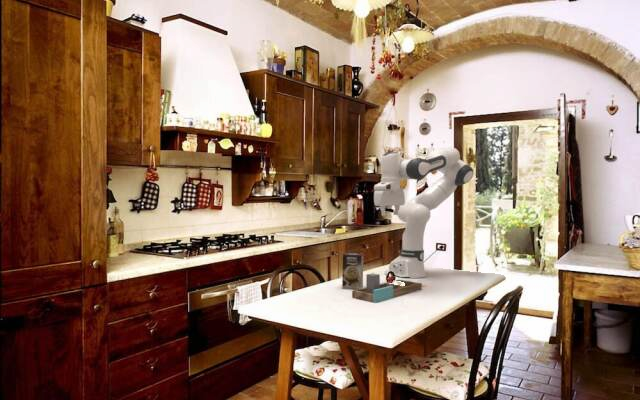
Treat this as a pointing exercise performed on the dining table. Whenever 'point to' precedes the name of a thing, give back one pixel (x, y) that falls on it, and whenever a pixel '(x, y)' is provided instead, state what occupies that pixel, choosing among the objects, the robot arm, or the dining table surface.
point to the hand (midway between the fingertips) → (389, 215)
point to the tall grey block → (372, 282)
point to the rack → (387, 291)
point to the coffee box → (352, 271)
